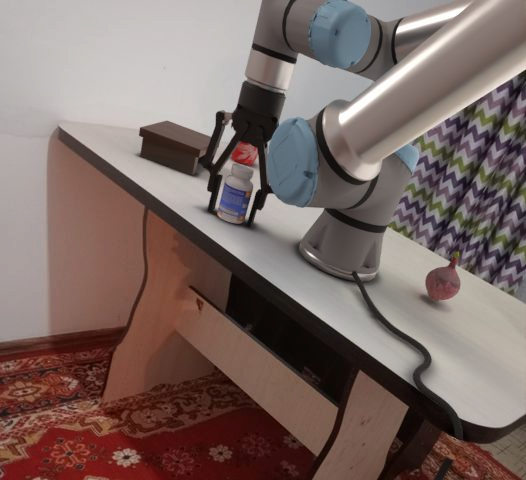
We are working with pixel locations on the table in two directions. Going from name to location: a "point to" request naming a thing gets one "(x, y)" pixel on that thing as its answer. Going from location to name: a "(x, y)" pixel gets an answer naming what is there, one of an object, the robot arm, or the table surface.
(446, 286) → the vegetable
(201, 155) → the stand
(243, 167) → the pill bottle
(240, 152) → the water bottle
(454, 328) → the table surface
